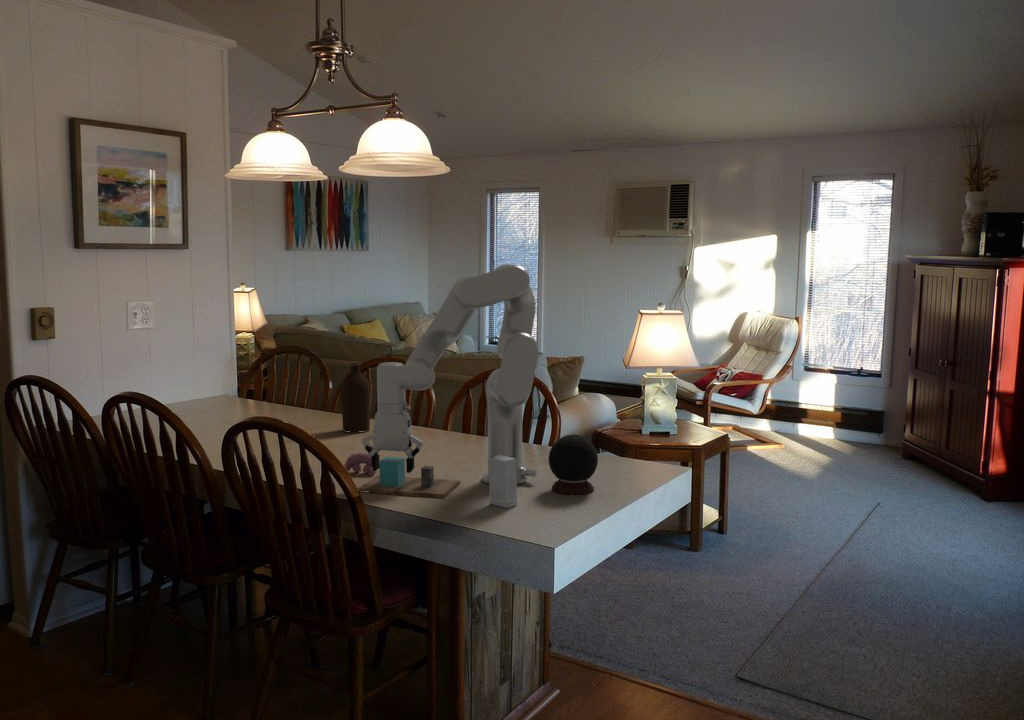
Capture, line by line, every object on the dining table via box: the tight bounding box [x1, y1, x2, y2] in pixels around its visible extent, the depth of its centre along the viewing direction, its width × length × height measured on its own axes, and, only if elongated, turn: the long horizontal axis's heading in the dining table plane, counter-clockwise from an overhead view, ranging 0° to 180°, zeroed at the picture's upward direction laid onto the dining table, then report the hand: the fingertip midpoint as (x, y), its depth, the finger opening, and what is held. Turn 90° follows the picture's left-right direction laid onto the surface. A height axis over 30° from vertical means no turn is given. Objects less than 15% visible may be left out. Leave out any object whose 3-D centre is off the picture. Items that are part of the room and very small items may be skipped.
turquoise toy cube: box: [379, 456, 406, 486], centre depth 227 cm, size 5×5×7 cm
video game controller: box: [343, 452, 377, 477], centre depth 242 cm, size 10×5×7 cm, turn 75°
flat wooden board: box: [357, 465, 461, 499], centre depth 227 cm, size 24×14×6 cm, turn 77°
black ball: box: [548, 434, 599, 497], centre depth 225 cm, size 13×13×15 cm
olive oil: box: [340, 360, 372, 432], centre depth 301 cm, size 11×11×25 cm
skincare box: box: [488, 455, 518, 509], centre depth 211 cm, size 6×4×12 cm
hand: (392, 470), depth 228 cm, fingers open, 9 cm apart
